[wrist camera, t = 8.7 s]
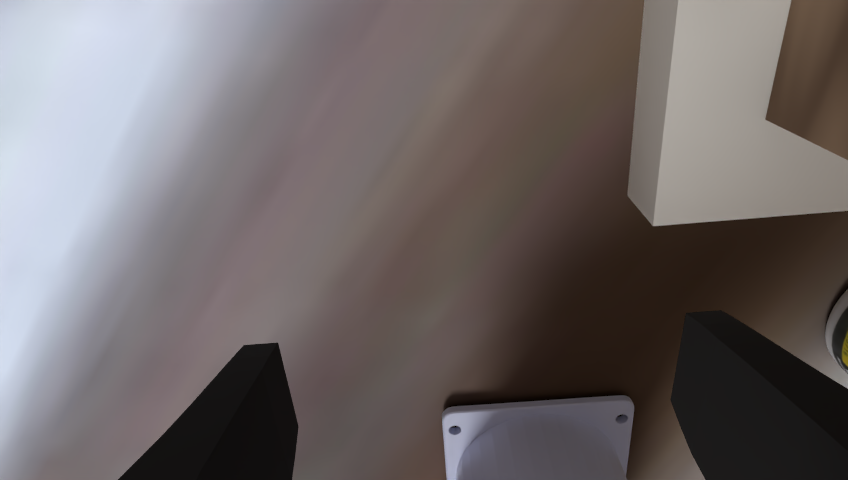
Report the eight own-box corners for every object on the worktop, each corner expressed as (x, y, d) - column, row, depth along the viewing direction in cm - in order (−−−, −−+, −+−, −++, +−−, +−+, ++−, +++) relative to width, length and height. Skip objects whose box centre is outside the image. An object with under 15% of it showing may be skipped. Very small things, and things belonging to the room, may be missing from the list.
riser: (905, 166, 21) (978, 200, 18) (622, 189, 21) (652, 226, 18) (1014, -177, 16) (1135, -199, 13) (649, -142, 16) (695, -158, 14)
